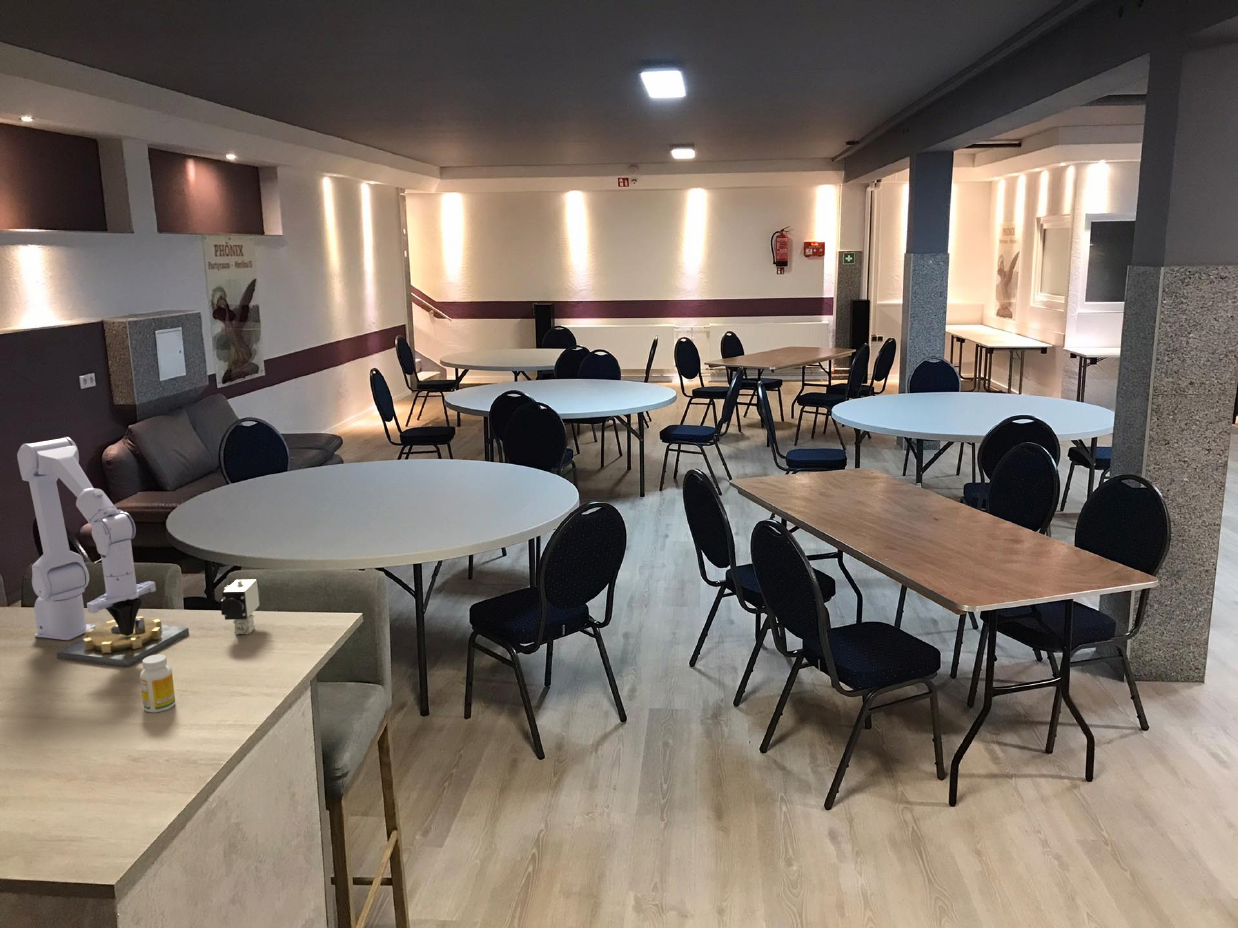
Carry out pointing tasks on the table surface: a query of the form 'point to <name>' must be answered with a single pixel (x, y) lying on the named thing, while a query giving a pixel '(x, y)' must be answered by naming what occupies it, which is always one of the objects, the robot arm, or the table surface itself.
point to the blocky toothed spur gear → (112, 638)
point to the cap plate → (125, 655)
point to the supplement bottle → (157, 684)
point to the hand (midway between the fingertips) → (127, 633)
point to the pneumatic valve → (241, 604)
